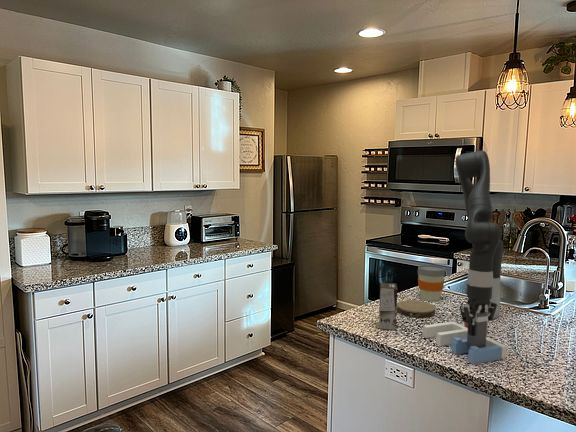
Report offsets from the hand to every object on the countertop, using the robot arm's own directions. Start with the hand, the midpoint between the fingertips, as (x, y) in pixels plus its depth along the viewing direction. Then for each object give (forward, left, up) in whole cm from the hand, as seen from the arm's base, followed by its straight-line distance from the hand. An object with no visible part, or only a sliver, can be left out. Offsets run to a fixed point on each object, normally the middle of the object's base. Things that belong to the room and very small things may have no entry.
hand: (476, 334), depth 140 cm
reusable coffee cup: (-28, -57, -8) cm, 64 cm away
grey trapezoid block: (0, 0, -4) cm, 4 cm away
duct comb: (0, -7, -7) cm, 10 cm away
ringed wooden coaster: (-9, -43, -8) cm, 45 cm away
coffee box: (+12, -33, -8) cm, 36 cm away
